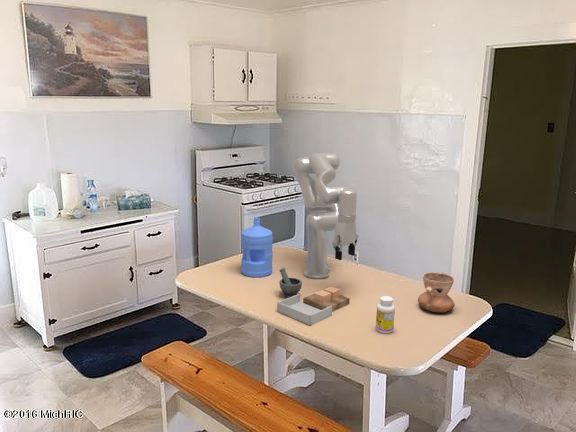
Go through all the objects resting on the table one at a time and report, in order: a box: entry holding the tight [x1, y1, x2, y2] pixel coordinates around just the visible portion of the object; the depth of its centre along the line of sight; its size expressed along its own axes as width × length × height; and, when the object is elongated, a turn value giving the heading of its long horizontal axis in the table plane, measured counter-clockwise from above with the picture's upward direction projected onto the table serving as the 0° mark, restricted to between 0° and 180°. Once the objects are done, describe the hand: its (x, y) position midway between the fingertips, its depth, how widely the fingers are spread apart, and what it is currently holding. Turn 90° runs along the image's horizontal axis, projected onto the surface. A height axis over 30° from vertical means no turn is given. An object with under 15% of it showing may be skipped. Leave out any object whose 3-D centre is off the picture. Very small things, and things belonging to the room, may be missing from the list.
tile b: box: [313, 289, 331, 303], centre depth 205 cm, size 5×5×3 cm
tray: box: [276, 293, 333, 326], centre depth 198 cm, size 13×18×4 cm
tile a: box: [323, 286, 341, 299], centre depth 209 cm, size 5×5×3 cm
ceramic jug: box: [417, 271, 455, 313], centre depth 204 cm, size 18×14×14 cm
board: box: [302, 293, 351, 313], centre depth 208 cm, size 14×14×2 cm
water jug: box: [240, 216, 274, 278], centre depth 241 cm, size 16×16×28 cm
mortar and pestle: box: [279, 267, 303, 299], centre depth 214 cm, size 11×9×12 cm
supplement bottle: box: [375, 295, 396, 334], centre depth 183 cm, size 7×7×13 cm
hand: (344, 257), depth 212 cm, fingers open, 8 cm apart
